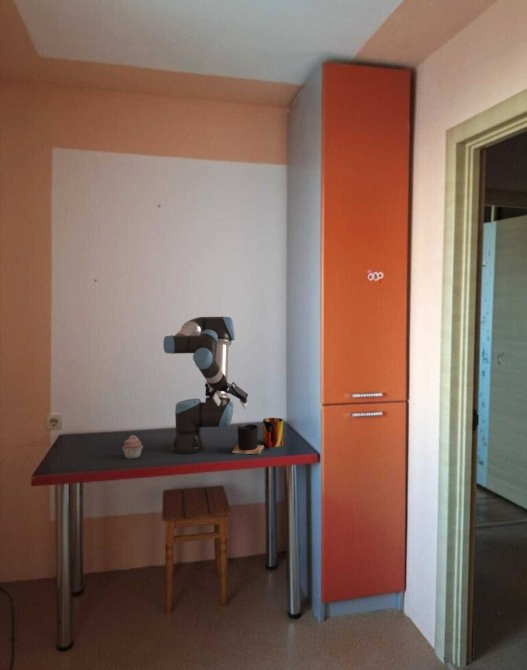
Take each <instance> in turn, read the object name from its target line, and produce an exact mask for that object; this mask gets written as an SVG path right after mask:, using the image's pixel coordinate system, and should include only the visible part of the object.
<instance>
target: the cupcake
mask: <svg viewBox="0 0 527 670" xmlns="http://www.w3.org/2000/svg"><path fill="white" fill-rule="evenodd" d="M143 447H144V445H143V444H142V442H141V441H140V439H139V438H138V437H137V436H136V435H134V434H132V435H130V436H129V437H128V439H126V440H125V441H124V445H123V446H121V448H122V450H123V452H124V456H125V458H126V459H129V460H131V459H132V460H133V459H134V458H135V459H138V458H139V457H141V454H142V450H143Z"/></svg>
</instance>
